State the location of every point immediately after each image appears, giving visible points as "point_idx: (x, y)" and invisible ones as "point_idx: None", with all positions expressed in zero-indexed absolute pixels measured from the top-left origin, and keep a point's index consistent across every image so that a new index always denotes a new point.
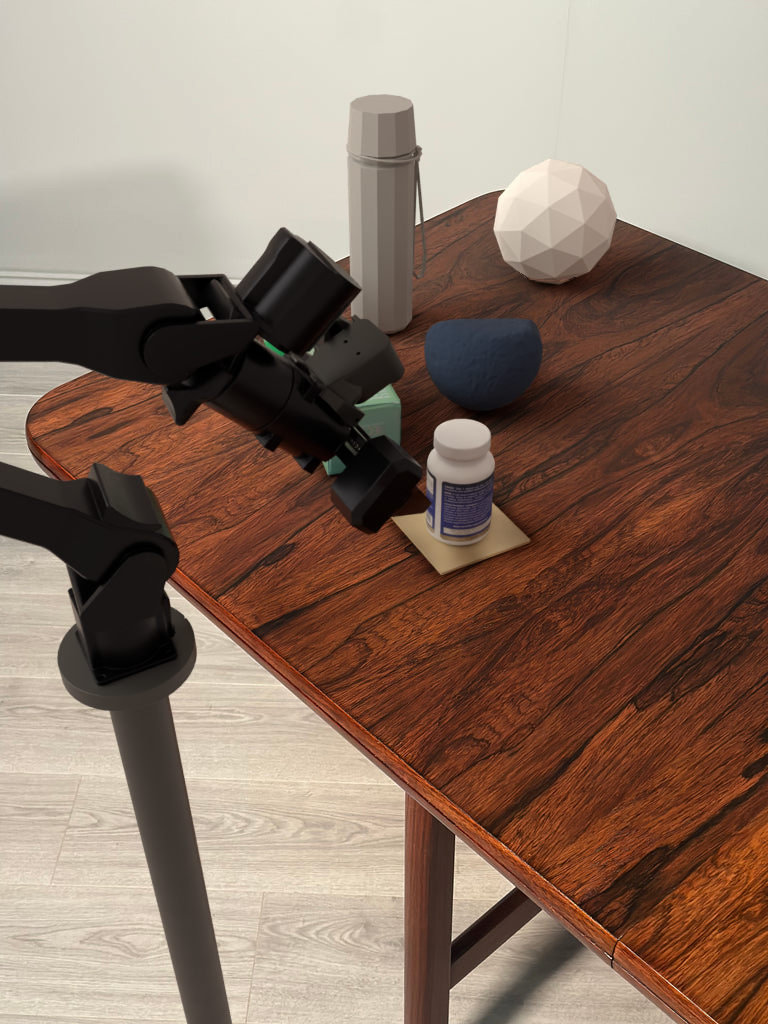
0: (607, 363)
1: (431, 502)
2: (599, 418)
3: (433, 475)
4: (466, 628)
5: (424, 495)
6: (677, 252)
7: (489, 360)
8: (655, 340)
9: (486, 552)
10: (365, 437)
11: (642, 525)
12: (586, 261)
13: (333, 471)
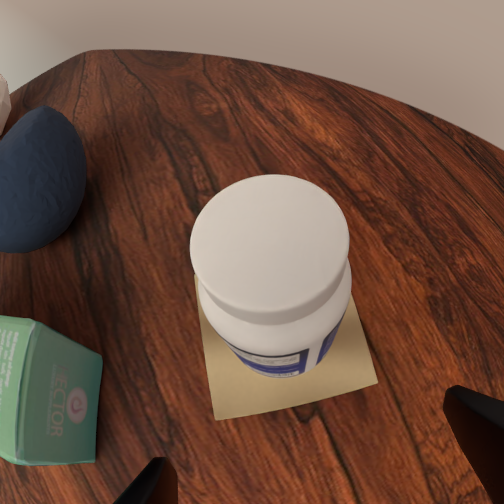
0: (85, 114)
1: (457, 385)
2: (143, 128)
3: (299, 351)
4: (472, 369)
5: (500, 400)
6: (35, 79)
7: (43, 159)
8: (87, 88)
9: (348, 307)
10: (158, 493)
11: (324, 138)
12: (6, 102)
13: (93, 455)
